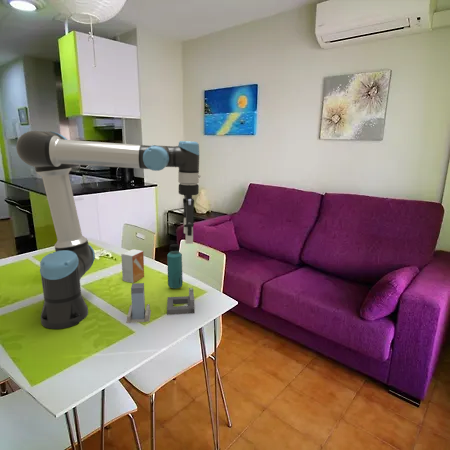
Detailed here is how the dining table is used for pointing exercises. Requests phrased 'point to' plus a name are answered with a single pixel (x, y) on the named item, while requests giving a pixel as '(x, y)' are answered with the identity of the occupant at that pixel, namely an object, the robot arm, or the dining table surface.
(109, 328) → the dining table surface
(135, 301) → the plug
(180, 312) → the port
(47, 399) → the dining table surface
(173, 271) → the beverage bottle
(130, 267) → the small box
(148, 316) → the grey u-shaped block
